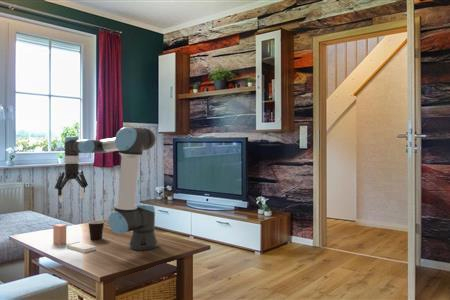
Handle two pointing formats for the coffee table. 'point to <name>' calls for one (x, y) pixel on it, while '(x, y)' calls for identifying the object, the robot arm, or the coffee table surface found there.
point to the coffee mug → (96, 230)
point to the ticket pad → (81, 247)
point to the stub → (59, 234)
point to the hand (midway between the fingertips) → (71, 199)
